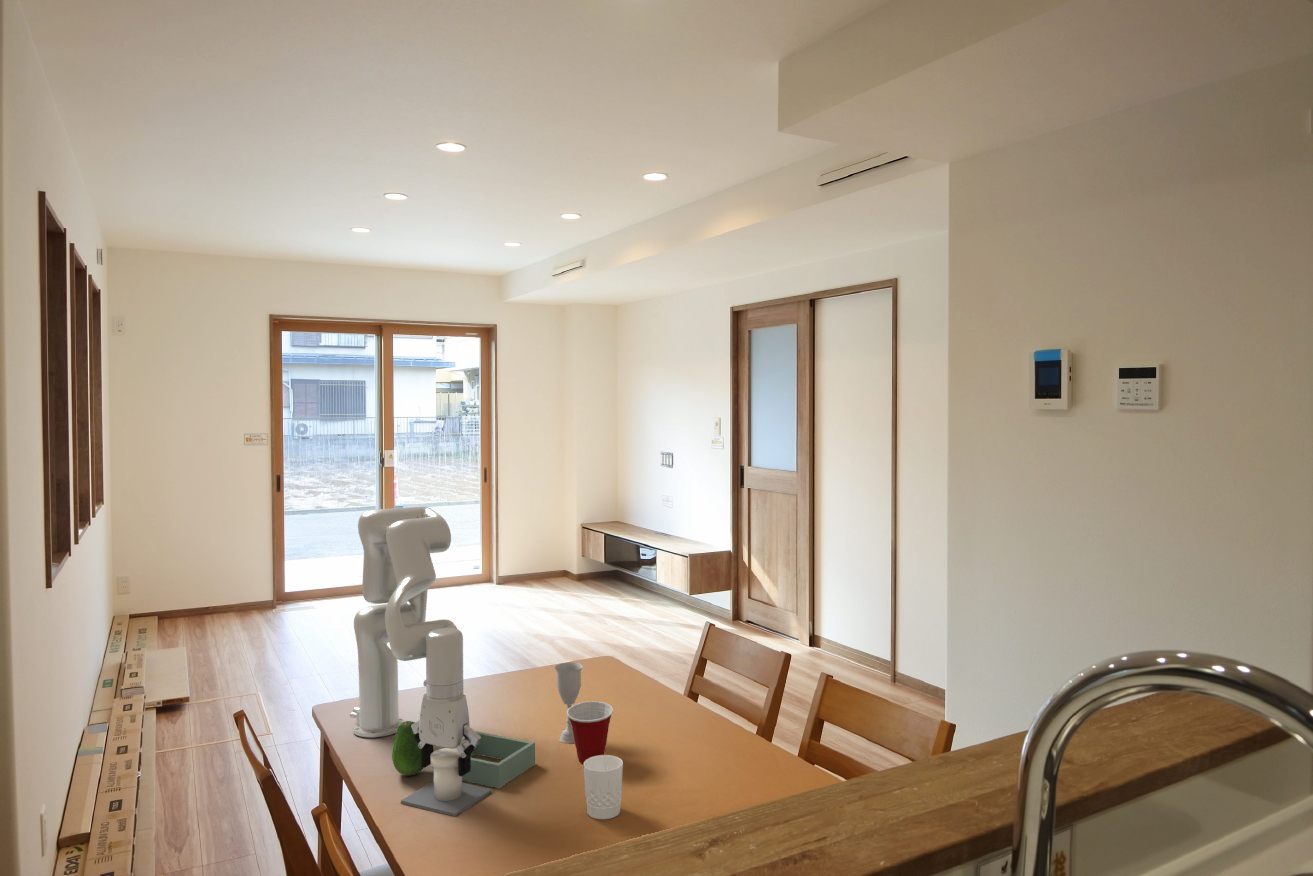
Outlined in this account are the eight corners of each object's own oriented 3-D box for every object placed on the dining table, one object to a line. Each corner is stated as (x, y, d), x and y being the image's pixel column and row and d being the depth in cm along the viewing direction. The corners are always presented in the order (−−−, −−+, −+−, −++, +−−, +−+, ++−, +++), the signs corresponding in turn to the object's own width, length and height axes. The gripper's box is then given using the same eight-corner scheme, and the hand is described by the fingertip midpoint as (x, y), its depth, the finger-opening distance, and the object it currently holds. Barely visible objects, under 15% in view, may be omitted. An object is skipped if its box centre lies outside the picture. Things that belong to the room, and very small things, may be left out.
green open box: (435, 774, 188) (435, 752, 188) (474, 752, 201) (474, 731, 201) (499, 788, 181) (498, 765, 181) (535, 764, 194) (535, 742, 194)
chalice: (578, 746, 204) (577, 672, 204) (551, 744, 206) (550, 670, 205) (587, 734, 212) (586, 663, 211) (561, 732, 213) (560, 661, 212)
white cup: (584, 803, 174) (583, 755, 174) (622, 802, 175) (622, 754, 174) (584, 822, 166) (583, 772, 166) (624, 820, 167) (623, 770, 167)
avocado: (390, 771, 191) (389, 718, 190) (426, 765, 194) (425, 713, 193) (394, 785, 183) (393, 730, 183) (431, 779, 186) (430, 725, 186)
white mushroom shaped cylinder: (423, 798, 176) (423, 757, 175) (445, 785, 182) (445, 745, 182) (450, 805, 173) (450, 763, 172) (472, 791, 179) (471, 750, 179)
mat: (400, 803, 175) (400, 800, 175) (439, 780, 186) (438, 777, 186) (455, 816, 169) (455, 813, 169) (491, 792, 180) (491, 789, 180)
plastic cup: (558, 766, 193) (558, 714, 192) (579, 748, 203) (578, 699, 202) (602, 773, 189) (602, 719, 189) (621, 754, 199) (620, 704, 199)
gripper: (400, 688, 177) (401, 769, 178) (467, 700, 170) (468, 784, 170) (424, 678, 184) (425, 755, 184) (489, 689, 176) (490, 770, 177)
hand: (445, 769), depth 177 cm, fingers open, 9 cm apart
